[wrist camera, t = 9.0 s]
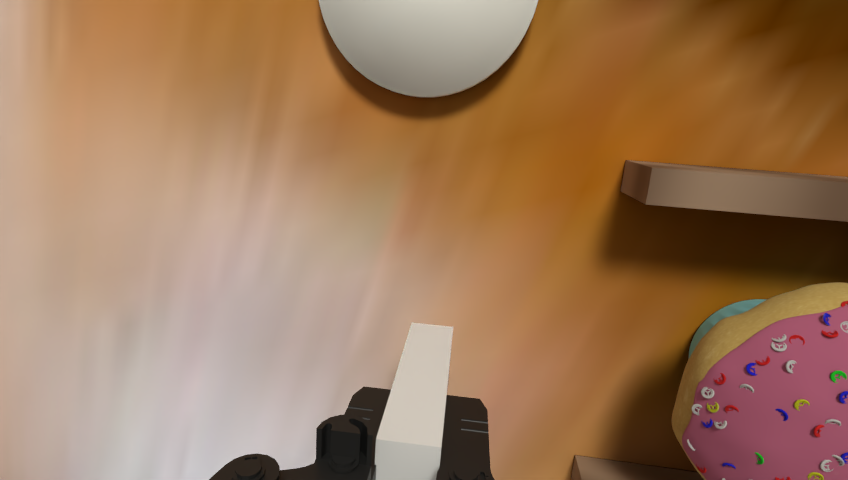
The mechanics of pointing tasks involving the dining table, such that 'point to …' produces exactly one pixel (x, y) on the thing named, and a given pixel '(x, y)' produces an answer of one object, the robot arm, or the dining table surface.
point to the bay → (721, 194)
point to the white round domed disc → (427, 40)
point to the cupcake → (769, 389)
